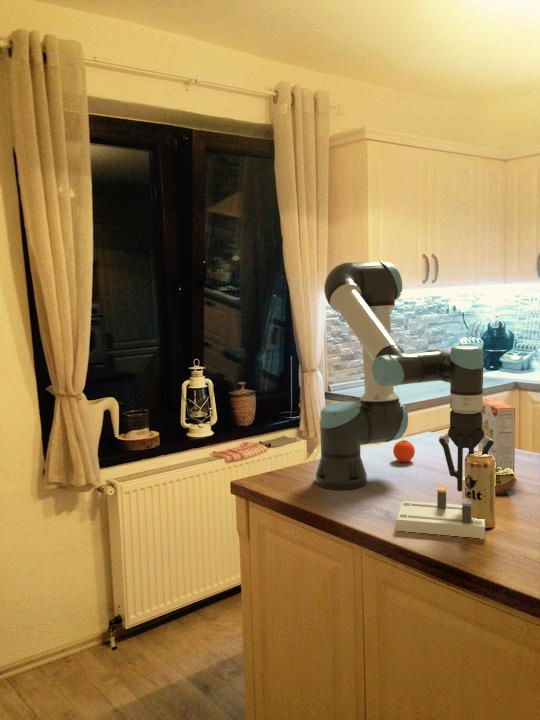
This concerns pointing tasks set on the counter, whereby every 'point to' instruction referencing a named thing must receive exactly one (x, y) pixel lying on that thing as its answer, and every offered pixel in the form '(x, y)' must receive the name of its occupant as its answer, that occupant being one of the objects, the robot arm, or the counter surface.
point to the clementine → (403, 451)
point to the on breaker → (466, 510)
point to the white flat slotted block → (437, 520)
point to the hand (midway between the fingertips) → (465, 503)
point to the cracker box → (499, 431)
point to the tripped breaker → (441, 497)
